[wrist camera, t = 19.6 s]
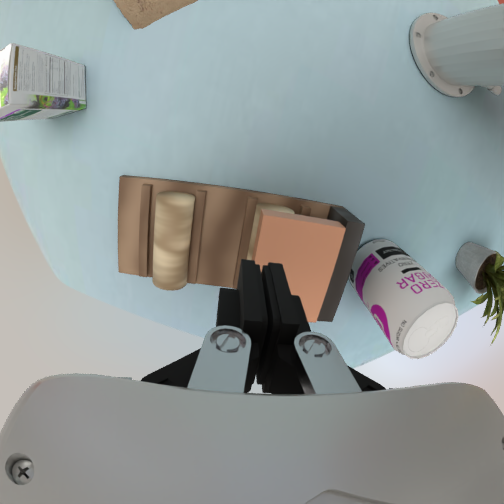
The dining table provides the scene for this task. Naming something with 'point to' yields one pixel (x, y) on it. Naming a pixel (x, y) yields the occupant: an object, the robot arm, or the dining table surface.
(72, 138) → the dining table surface
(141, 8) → the clay tablet
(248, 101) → the dining table surface
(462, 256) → the house plant
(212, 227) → the track
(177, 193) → the under roller
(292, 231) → the slab
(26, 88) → the syrup box
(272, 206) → the roller
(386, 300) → the supplement can
